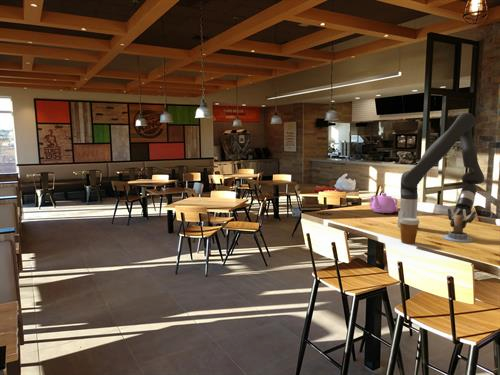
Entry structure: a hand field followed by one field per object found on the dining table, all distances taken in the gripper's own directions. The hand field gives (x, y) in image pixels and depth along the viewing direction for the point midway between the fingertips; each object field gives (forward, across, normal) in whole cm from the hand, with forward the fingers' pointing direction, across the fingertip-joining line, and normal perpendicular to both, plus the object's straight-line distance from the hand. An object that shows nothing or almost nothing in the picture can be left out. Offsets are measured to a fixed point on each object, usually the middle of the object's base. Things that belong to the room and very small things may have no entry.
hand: (457, 226), depth 199 cm
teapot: (-30, -63, +40) cm, 80 cm away
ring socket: (+3, 0, +6) cm, 7 cm away
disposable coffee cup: (+22, -16, -12) cm, 29 cm away
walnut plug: (+2, 0, +4) cm, 5 cm away
